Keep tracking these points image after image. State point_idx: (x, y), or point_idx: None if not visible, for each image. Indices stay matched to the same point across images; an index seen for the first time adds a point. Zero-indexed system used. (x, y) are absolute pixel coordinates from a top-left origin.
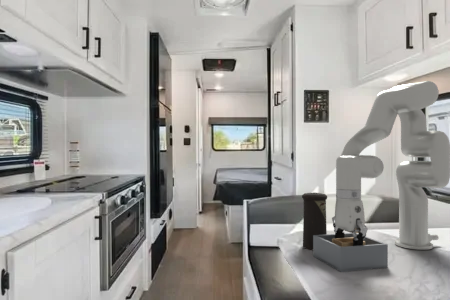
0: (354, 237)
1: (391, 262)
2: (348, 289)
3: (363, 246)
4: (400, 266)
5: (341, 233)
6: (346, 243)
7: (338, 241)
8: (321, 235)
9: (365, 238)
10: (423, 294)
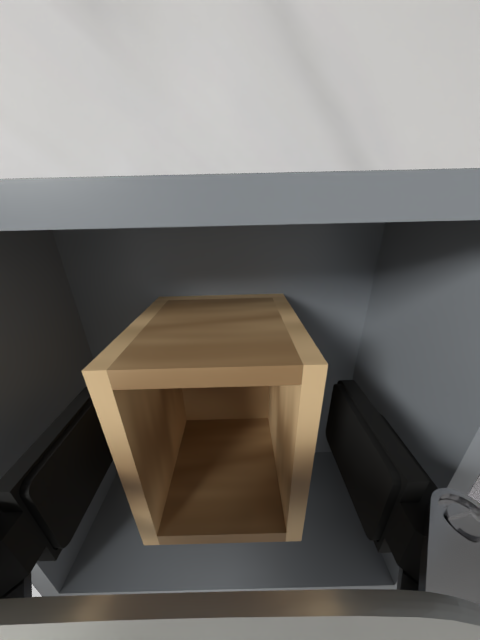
0: (413, 589)
1: (318, 57)
2: (476, 491)
3: (471, 479)
4: (426, 60)
5: (41, 513)
6: (303, 517)
7: (238, 541)
8: (43, 571)
9: (127, 226)
10: None
